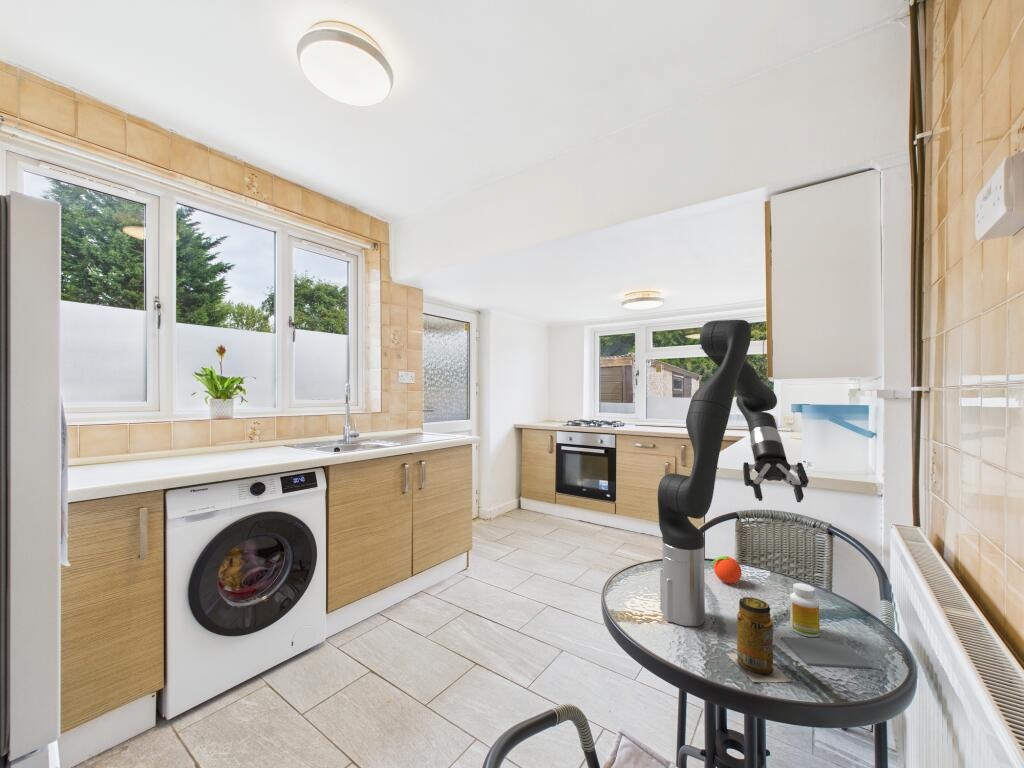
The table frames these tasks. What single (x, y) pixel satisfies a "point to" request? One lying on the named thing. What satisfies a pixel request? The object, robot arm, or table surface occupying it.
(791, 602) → the supplement bottle
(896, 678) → the table surface
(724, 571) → the clementine
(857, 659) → the mat
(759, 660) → the condiment
